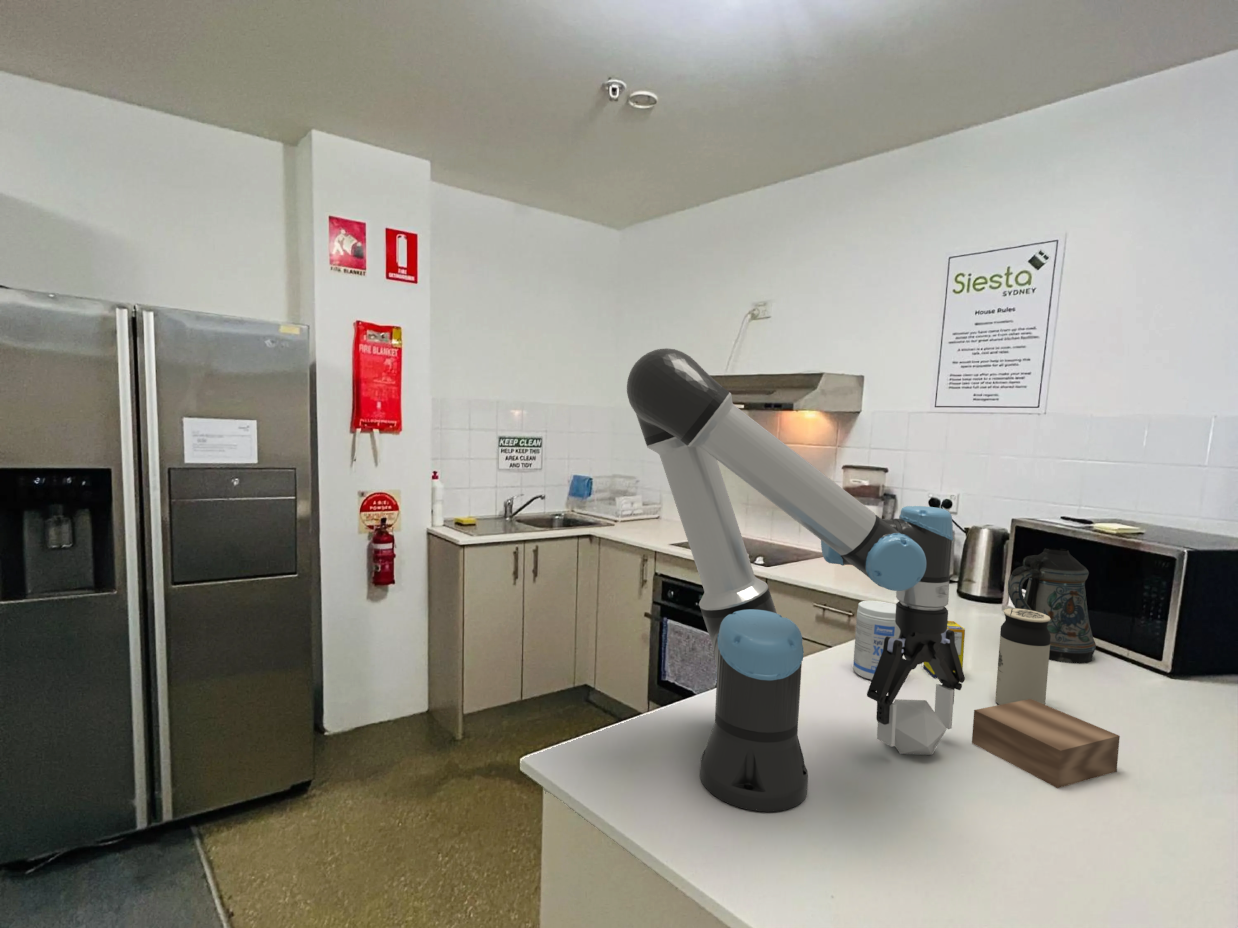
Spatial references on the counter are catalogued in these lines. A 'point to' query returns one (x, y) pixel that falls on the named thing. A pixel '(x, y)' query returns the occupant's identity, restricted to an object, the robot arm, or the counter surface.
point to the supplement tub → (872, 634)
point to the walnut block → (1046, 742)
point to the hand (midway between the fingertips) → (915, 733)
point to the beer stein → (1057, 601)
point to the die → (917, 727)
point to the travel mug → (1023, 657)
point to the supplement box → (959, 645)
